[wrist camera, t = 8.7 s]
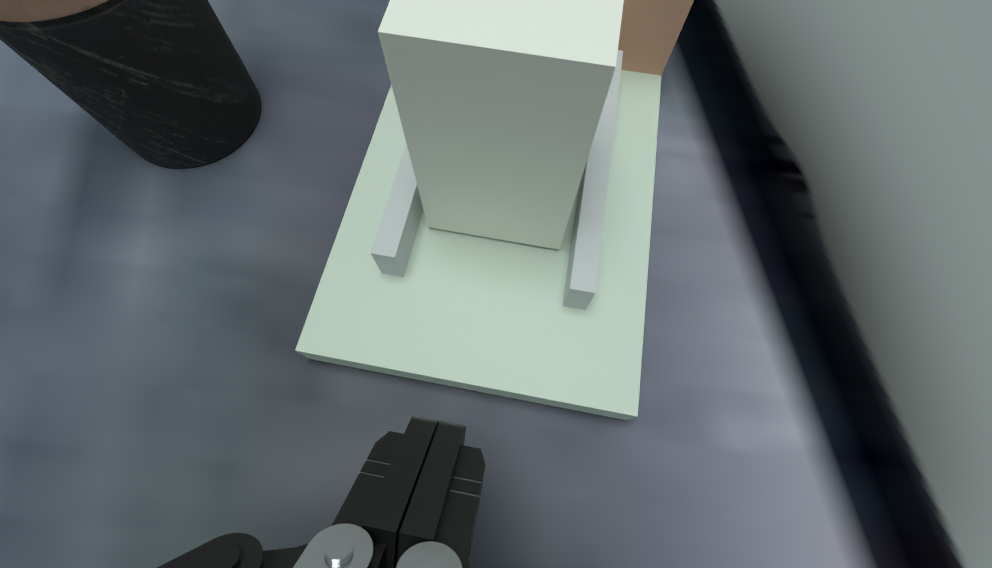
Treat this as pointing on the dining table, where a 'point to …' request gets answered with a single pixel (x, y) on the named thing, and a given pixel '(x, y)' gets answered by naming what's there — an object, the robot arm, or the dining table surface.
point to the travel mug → (142, 72)
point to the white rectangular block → (500, 107)
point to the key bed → (508, 263)
